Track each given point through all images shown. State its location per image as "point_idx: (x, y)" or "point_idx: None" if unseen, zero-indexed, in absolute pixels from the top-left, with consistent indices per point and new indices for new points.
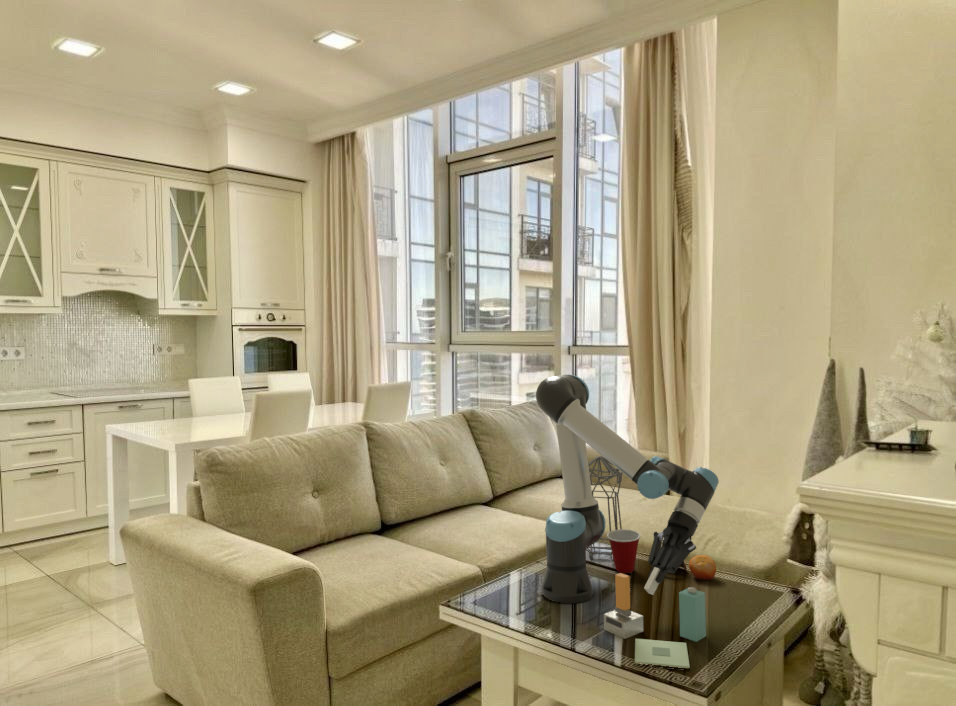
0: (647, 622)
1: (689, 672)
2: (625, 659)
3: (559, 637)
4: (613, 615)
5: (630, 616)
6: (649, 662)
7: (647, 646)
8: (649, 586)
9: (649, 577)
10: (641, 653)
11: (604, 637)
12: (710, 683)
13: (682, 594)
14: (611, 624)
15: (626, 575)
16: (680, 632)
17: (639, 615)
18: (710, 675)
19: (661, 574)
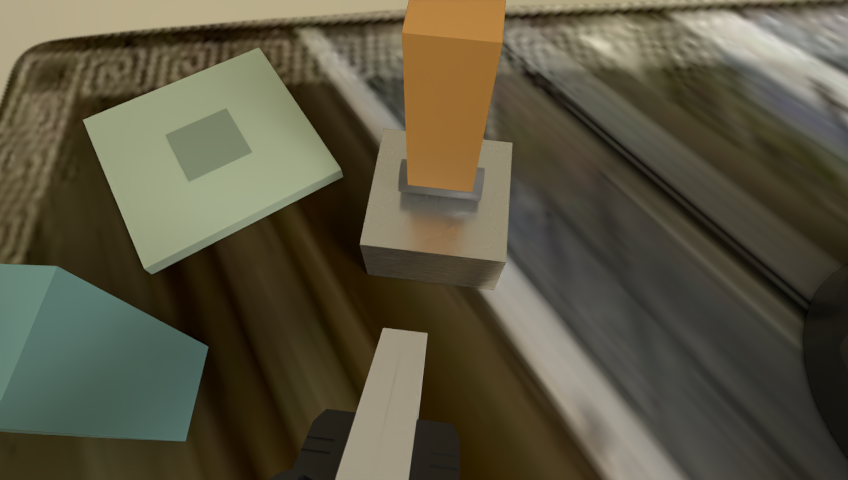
0: None
1: (88, 116)
2: (304, 65)
3: (562, 50)
4: None
5: (403, 197)
6: (214, 66)
7: (270, 146)
8: (383, 344)
9: (417, 397)
10: (264, 95)
11: None
12: (10, 102)
13: (32, 269)
14: None
15: (429, 29)
16: (197, 341)
17: (375, 235)
18: (16, 140)
19: (300, 468)
